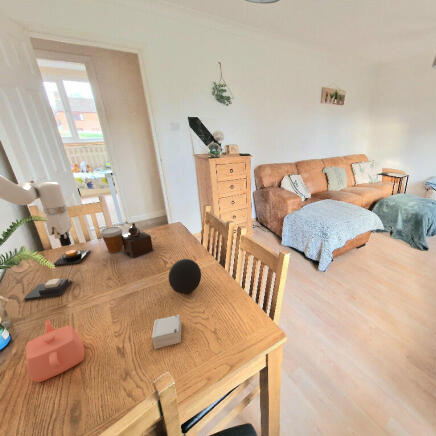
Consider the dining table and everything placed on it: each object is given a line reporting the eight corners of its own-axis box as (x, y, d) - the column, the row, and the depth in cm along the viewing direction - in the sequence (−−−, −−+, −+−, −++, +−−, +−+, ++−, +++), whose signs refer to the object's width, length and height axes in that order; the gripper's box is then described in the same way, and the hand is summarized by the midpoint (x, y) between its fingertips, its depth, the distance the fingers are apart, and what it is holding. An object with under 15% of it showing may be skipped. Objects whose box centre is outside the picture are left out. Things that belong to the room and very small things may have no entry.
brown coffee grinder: (122, 252, 126) (114, 221, 120) (144, 244, 135) (138, 215, 128) (137, 262, 119) (129, 229, 112) (159, 253, 127) (153, 222, 120)
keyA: (45, 288, 94) (44, 285, 94) (50, 283, 98) (49, 279, 97) (56, 287, 96) (55, 283, 95) (61, 281, 99) (60, 278, 98)
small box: (157, 330, 82) (154, 319, 80) (182, 325, 85) (180, 313, 83) (153, 349, 75) (151, 337, 73) (181, 343, 78) (179, 331, 76)
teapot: (33, 399, 61) (17, 371, 57) (31, 353, 72) (18, 327, 68) (90, 369, 69) (79, 342, 65) (80, 331, 80) (71, 307, 76)
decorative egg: (186, 279, 109) (182, 250, 103) (208, 286, 105) (205, 257, 99) (164, 295, 98) (158, 264, 92) (188, 304, 94) (183, 272, 88)
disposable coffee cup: (101, 255, 123) (95, 234, 118) (110, 246, 131) (104, 226, 127) (122, 253, 125) (117, 233, 121) (129, 245, 134) (125, 225, 129)
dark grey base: (24, 301, 91) (21, 294, 90) (39, 286, 99) (37, 280, 98) (60, 296, 95) (57, 290, 93) (71, 282, 103) (69, 276, 101)
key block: (53, 266, 112) (51, 261, 111) (67, 253, 123) (65, 249, 122) (79, 263, 115) (77, 259, 114) (90, 251, 126) (88, 247, 125)
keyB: (64, 257, 116) (63, 254, 115) (68, 253, 119) (67, 250, 119) (74, 256, 117) (73, 253, 116) (78, 252, 120) (77, 249, 120)
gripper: (54, 204, 114) (65, 238, 121) (34, 215, 101) (47, 253, 108) (73, 204, 117) (83, 237, 123) (56, 215, 103) (67, 251, 110)
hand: (66, 245), depth 115 cm, fingers closed
